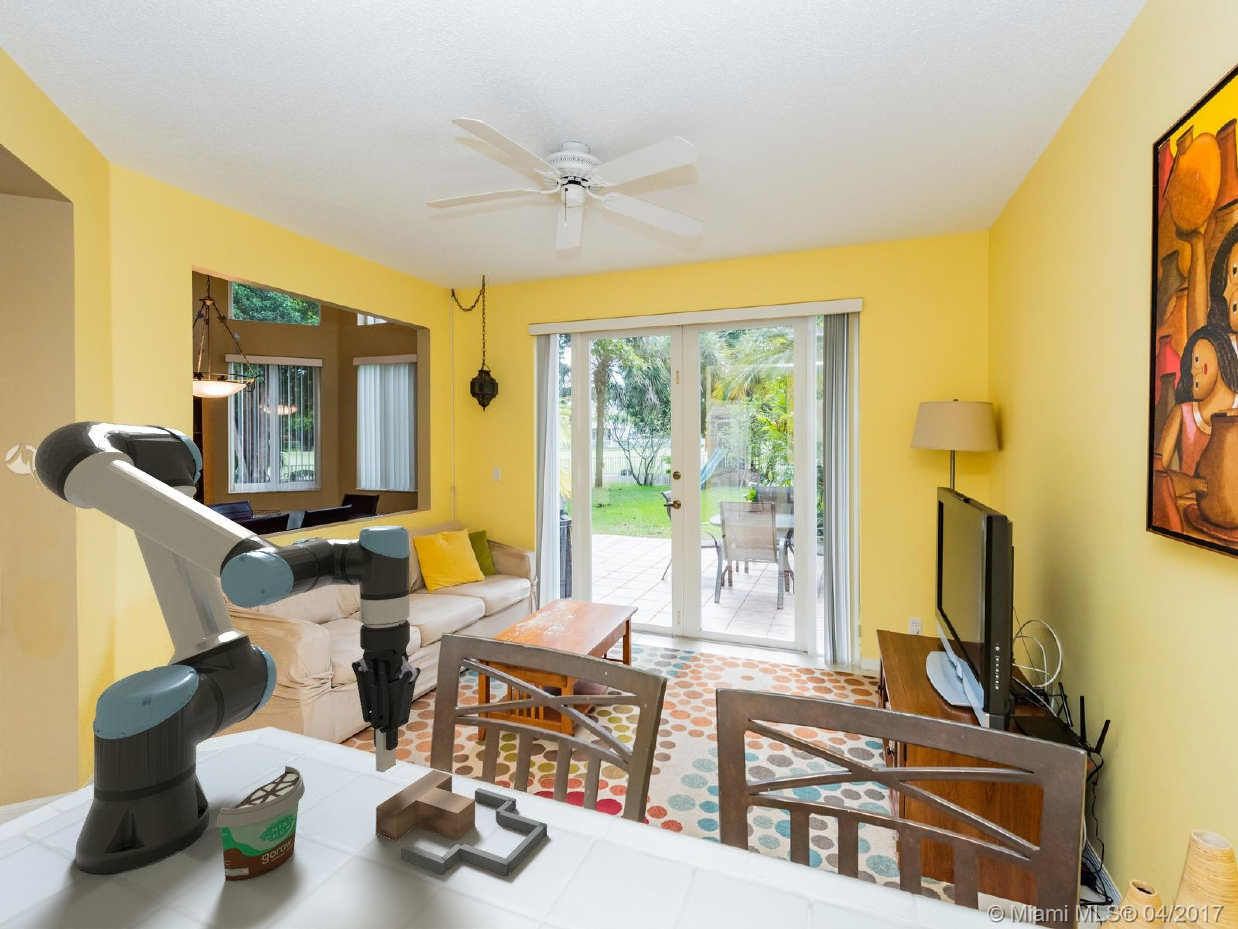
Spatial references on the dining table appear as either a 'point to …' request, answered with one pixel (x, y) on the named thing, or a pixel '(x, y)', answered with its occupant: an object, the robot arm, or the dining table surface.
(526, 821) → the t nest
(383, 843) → the dining table surface
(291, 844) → the food container
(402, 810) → the t block
